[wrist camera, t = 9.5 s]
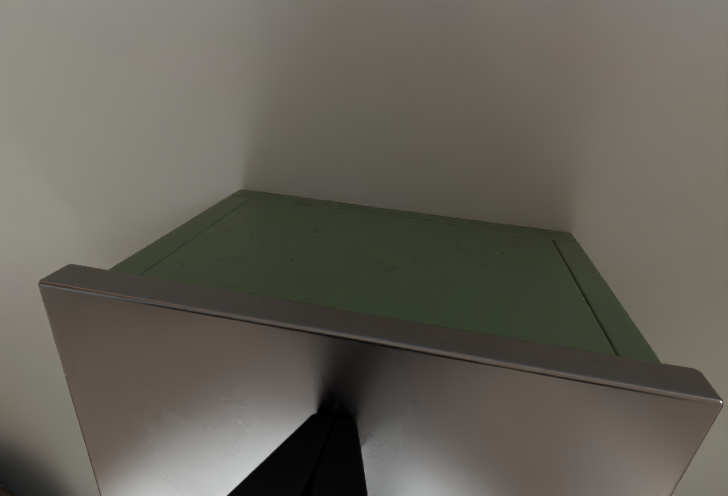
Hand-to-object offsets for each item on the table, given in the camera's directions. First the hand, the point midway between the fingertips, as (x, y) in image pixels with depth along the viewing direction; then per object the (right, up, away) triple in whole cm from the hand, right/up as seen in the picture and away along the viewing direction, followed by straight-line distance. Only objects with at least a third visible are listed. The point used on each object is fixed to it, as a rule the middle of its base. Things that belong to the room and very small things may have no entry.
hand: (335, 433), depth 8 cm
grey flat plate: (0, -4, +3) cm, 4 cm away
